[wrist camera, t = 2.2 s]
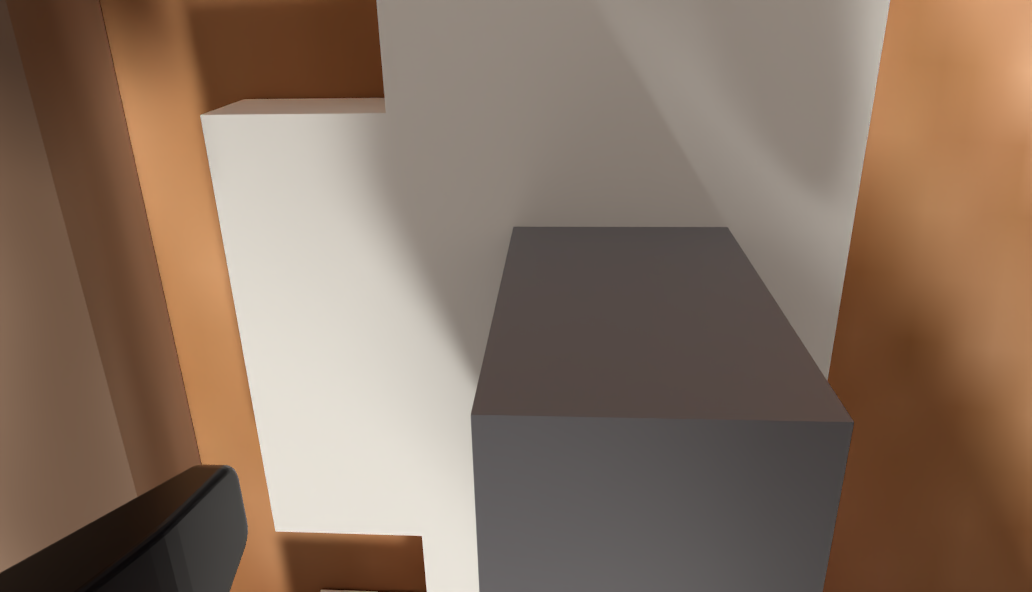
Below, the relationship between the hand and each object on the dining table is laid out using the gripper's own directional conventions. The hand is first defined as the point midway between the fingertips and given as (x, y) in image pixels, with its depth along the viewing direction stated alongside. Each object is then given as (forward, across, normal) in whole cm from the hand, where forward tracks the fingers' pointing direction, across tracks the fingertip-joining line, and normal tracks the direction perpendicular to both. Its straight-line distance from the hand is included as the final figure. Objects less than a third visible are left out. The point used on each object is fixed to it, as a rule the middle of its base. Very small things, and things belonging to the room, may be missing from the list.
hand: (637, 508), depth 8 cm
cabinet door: (+5, +1, 0) cm, 5 cm away
